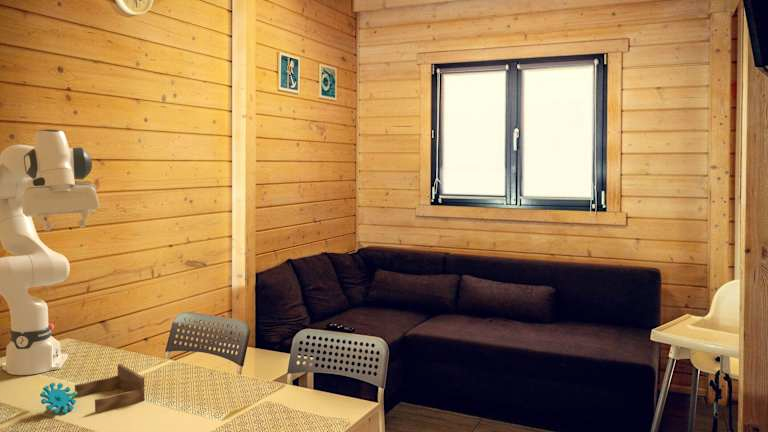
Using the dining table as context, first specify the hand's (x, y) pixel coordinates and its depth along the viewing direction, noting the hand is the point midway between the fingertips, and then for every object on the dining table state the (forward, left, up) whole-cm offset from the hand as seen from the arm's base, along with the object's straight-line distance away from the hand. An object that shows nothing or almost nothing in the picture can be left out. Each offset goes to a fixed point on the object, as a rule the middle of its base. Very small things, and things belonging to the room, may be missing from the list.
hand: (65, 228), depth 189 cm
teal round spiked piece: (+8, 0, -52) cm, 52 cm away
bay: (-1, +11, -51) cm, 53 cm away
